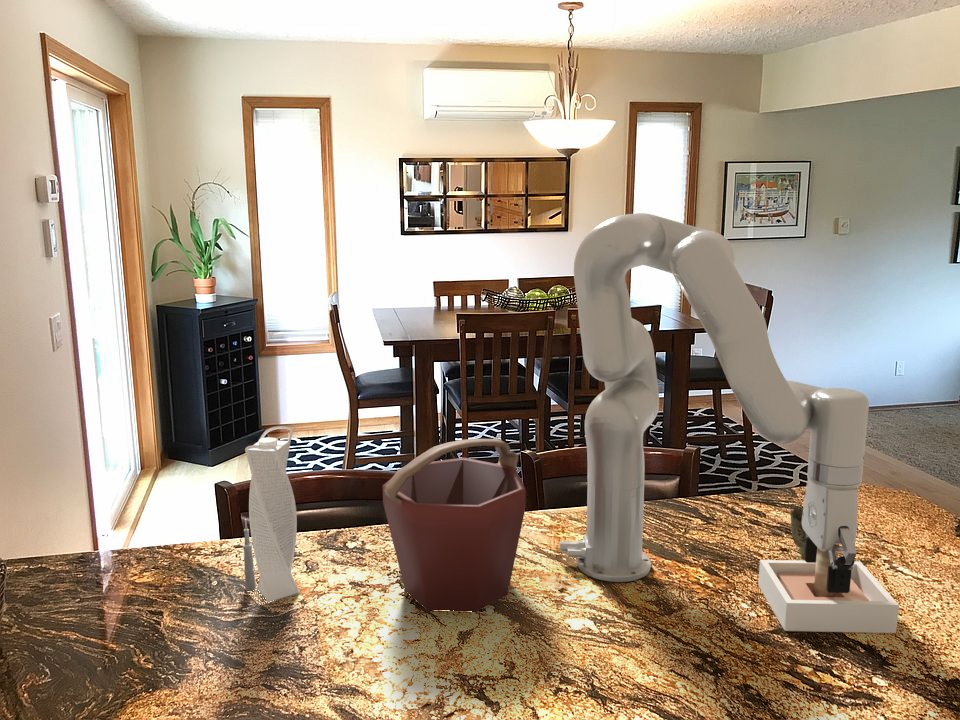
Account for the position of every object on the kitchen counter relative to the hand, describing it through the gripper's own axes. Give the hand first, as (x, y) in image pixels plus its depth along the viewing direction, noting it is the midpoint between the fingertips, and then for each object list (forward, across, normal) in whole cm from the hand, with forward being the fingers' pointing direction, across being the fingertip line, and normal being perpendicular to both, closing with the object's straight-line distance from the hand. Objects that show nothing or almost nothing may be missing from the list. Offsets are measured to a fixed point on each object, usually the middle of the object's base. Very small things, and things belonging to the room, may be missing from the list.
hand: (825, 576), depth 125 cm
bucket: (+6, -4, -57) cm, 57 cm away
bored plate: (+5, 0, 0) cm, 5 cm away
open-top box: (+5, 0, 0) cm, 5 cm away
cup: (+6, -18, +4) cm, 19 cm away
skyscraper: (+6, -2, -87) cm, 87 cm away
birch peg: (+4, 0, 0) cm, 4 cm away
